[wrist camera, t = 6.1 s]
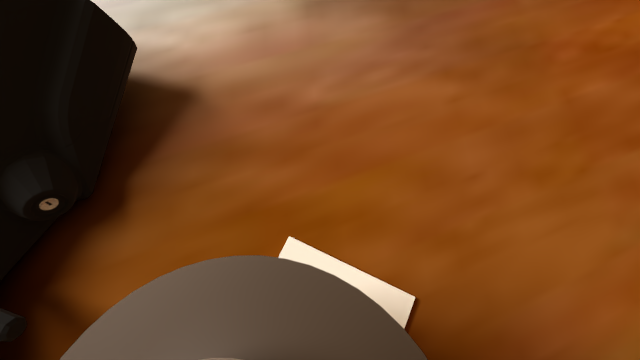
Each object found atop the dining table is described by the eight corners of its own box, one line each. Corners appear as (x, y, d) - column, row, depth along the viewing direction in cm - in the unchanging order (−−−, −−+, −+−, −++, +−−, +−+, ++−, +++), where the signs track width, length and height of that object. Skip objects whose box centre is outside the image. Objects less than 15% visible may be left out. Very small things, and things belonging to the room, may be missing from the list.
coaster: (358, 453, 17) (358, 457, 17) (221, 370, 19) (219, 372, 19) (414, 297, 20) (415, 297, 20) (289, 237, 22) (289, 236, 22)
